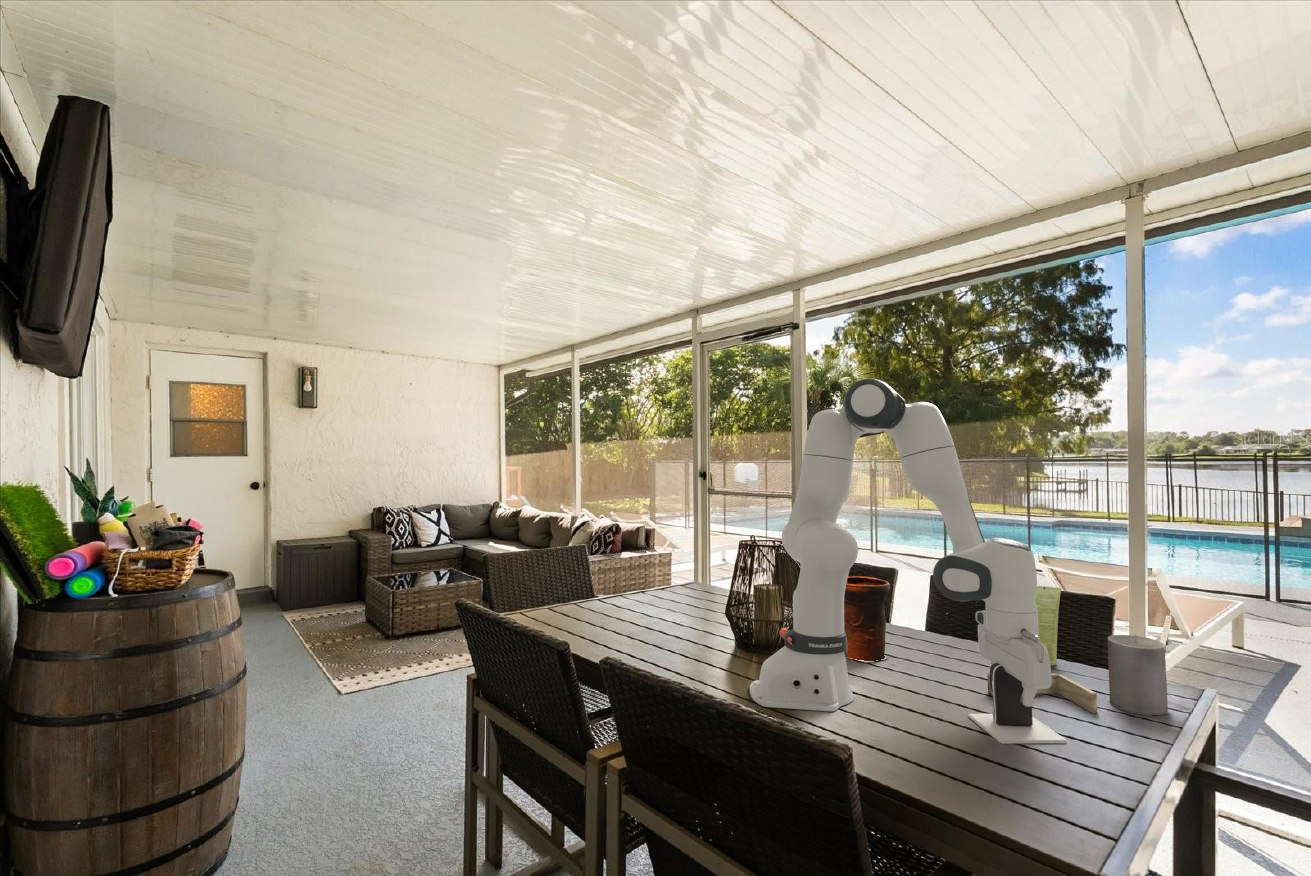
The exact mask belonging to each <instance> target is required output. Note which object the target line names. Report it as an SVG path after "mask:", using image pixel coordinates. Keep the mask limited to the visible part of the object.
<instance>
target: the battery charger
mask: <svg viewBox="0 0 1311 876" xmlns="http://www.w3.org/2000/svg"><path fill="white" fill-rule="evenodd" d="M989 674H990V688H991V689H992V694H993V695H992V694H991V695H992V703H993V704H992V705H993V711H992V712H993V713H992V714H993V720H994V721H995V723H996V724H998V725H1007V726H1032V725H1033V720H1032V717H1033V706H1032V707H1026V706H1025V705H1023V704H1022V703H1021V702H1020V694H1023V690H1024V688H1023V687H1022V682H1021V681H1020V680H1018V679H1017V678H1015V677H1014V676H1012V675H1011V674H1009V673H1007V672H1006V671H1005V669H1004V667H1003V666H1002V665H1000V664H998V663H994V664H992V665H991V664H990V667H989Z"/></svg>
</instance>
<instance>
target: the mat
mask: <svg viewBox="0 0 1311 876" xmlns="http://www.w3.org/2000/svg"><path fill="white" fill-rule="evenodd" d="M967 716H968V718H969V719H970V720H972V721H973V722H974V723H975V724H977V725H978V726H979V727H981V729H983V730H984V731H985V732H987V734H989V736H991V737H993V739H995V740H996V741H997V742H999V743H1000V744H1067V741H1068V740H1067V739H1066V738H1065V737H1064V736H1062V735H1060V734H1059V733H1057V732H1056V731H1054V730H1053V729H1052V728H1050V727H1049V726H1047V725H1045V723H1043V722H1041V721H1039V719H1036V718H1035V717H1034V716H1032V720H1033V725H1032V726H1007V725H998V724H996V723H995V721H994V720H993V713H968V715H967Z"/></svg>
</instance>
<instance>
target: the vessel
mask: <svg viewBox="0 0 1311 876" xmlns="http://www.w3.org/2000/svg"><path fill="white" fill-rule="evenodd" d="M890 590H891V584H890V582H888V581H887V580H883V579H879V578H876V577H870V576H848V579H847V584H846V588H845V595H844V632H846V636H847V658H852V659H857V660H864V661H876V660H881V659H884V658H885V656H884V654H885V653H886V629H887V628H886V627H887V621H886V611H885V610H886V608H887V606H888V599H887V597H888V595H889V593H890ZM871 663H873V662H871Z"/></svg>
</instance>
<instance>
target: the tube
mask: <svg viewBox="0 0 1311 876" xmlns="http://www.w3.org/2000/svg"><path fill="white" fill-rule="evenodd" d="M1061 594H1062V587H1053V586H1043V585H1037V590H1036V593H1035V602H1036V605H1037V608H1038V632H1039V635H1038V637H1039V638H1040V641H1041V642H1042V644H1043V645H1044V646H1045V647H1046V649H1047V651H1048V654H1049V659H1050V667H1051V666H1056V665H1057V662H1058V661H1057V657H1058V656H1057V655H1058V654H1057V650H1058V628H1059V627H1058V624H1059V610H1060V600H1061Z"/></svg>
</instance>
